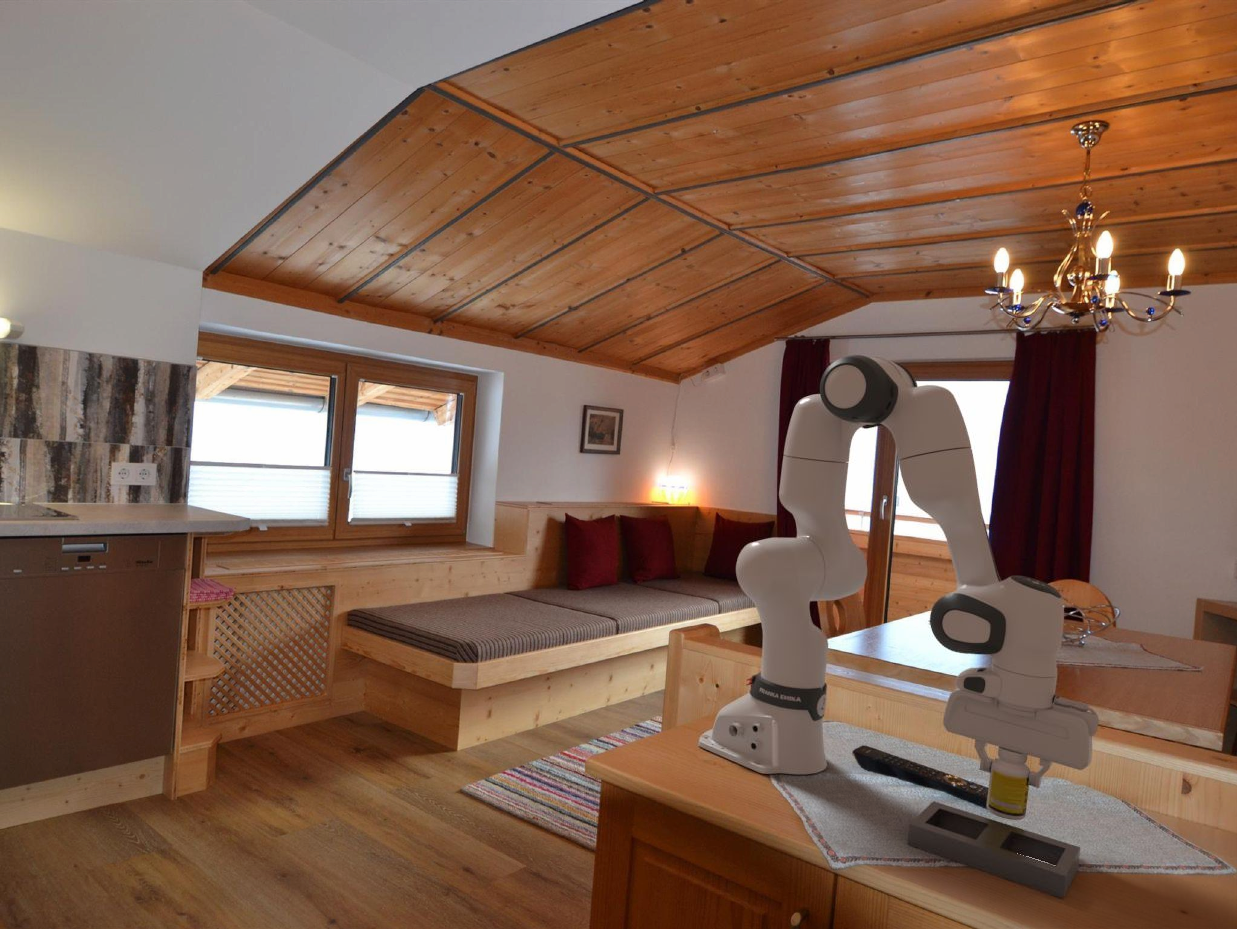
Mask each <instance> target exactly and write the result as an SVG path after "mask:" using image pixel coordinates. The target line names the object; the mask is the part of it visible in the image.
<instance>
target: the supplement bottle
mask: <svg viewBox="0 0 1237 929" xmlns="http://www.w3.org/2000/svg"><path fill="white" fill-rule="evenodd" d="M997 756H998V758H997V757H996V758H995V759H994V760H993V761H992V764H991V771H990V773H989V779H988V780H989V782H988V790H987V798H986V809H987V810H988V812H989V813H991V814H992V815H995V816H997V817H999V818H1002V819H1006V820H1012V821H1020V820H1023V819H1024V818H1025V817H1026V813H1027V805H1028V799H1029V798H1028V796H1029V788H1030V785H1028V781H1029V774H1030V773H1031V768H1030V767H1029V766H1028V765H1027V762H1028V756H1029V755H1026V754H1023V753H1019V752H1016V751H1013V750H1009V749H1006V748H1002V747H999V746H998V750H997Z"/></svg>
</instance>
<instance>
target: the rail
mask: <svg viewBox="0 0 1237 929" xmlns="http://www.w3.org/2000/svg"><path fill="white" fill-rule="evenodd" d="M907 836H908V838H907V846H910V847H914V848H917V849H920V850H922V851H925V852H927V853H930V852H931V853H930V854H933V853H934V855H937V856H939V857H942V856H943V857H942V858H945V859H947V858H948V860H950V859H951V861H954V862H957V863H959V864H962V865H965V866H968V867H970V868H974V869H977V870H979V871H982V872H985V873H987V874H990V875H994V876H996V877H998V878H999V877H1000V878H1002V879H1005V880H1008V881H1011V882H1013V883H1017V884H1019V885H1022V886H1025V887H1028V888H1030V889H1034V890H1037V891H1039V892H1042V893H1045V894H1047V895H1051V896H1054V897H1056V898H1059V899H1062V900H1064V899H1065V897H1066V895H1067V892H1068V890H1069V888H1070V886H1071V885H1072V882H1073V880H1074V878H1075V877H1076V873H1077V872H1078V870H1079V863H1080V855H1081V847H1080V846H1077V845H1073V844H1070V843H1067V842H1064V841H1061V840H1058V839H1055V838H1052V837H1048V836H1045V835H1042V834H1039V833H1035V832H1033V831H1029V830H1026V829H1022V828H1020V827H1017V826H1013V825H1010V824H1007V823H1005V822H1001V821H998V820H995V819H991V818H988V817H985V816H983V815H979V814H976V813H972V812H969V811H966V810H964V809H963V810H962V809H959V808H956V807H954V806H950V805H946V804H943V803H940V802H937V801H934V800H933V801H932V802H931V803H930V804H929V805H927V807H926V808H924V809H923V810H922V811H921V812H920V813H919V814H918V815H917V816H916V817H915V818H914V819H913V820H911V822H910V823H909V827H908V835H907ZM1017 853H1018V854H1017ZM1020 854H1021V855H1020ZM1023 855H1024V856H1023ZM1026 856H1029V857H1032V858H1035V859H1039V860H1041V861H1045V862H1048V863H1050V864H1053V865H1056V866H1053V865H1050V864H1047V863H1044V862H1041V861H1038V860H1035V859H1032V858H1029V857H1026Z"/></svg>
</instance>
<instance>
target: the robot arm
mask: <svg viewBox="0 0 1237 929" xmlns="http://www.w3.org/2000/svg"><path fill="white" fill-rule="evenodd" d="M881 426H884V427H885V428H887V429H888V430H889V432H890V433H891V435H892V438H893V440H894V444H895V450H896V454H897V460H898V465H899V466H898V467H899V470H900V475H901V479H902V481H903V485H904V487H905V490H906V492H907V495H908V497H909V499H910V501H911V502H912V503H913V504H914V505H915V506H916V507H917V508H919V509H920V510H922V511H923V512H924V513H926V514H928V515H929V517H931V518H932V519H933V520H934V521H935V522H936V523H937V524H938V526H939V527H940V529H941V530H942V532H943V534H944V536H945V538H946V542H947V545H948V550H949V555H950V558H951V562H952V565H953V568H954V574H955V577H956V590H953V591H951V592H948V593H947V594H945V595H942V597H940V598H938V599H937V601H936V602H935V603H934V605H933V606H932V608H931V611H930V615H929V624H930V630H931V631H932V634H933V636H934V638H935V639H936V641H937V642H938V643H939V644H940V645H942V646H943V648H945V649H947V650H949V651H951V652H954V653H959V654H964V655H969V654H970V655H985V656H986V655H989V656H991V657H992V658H991V659H992V660H991V666H985V667H983V666H982V667H970V668H967V669H965V670H963V671H961V672H960V673H959V674H958V675H957V677H956V679H955V680H956V681H955V682H956V684H955V685H956V688H955V689H954V690H953V691H952V692H951V693H950V695H949V697H948V699H947V702H946V706H945V710H944V713H943V714H944V715H943V720H942V724H943V726H944V728H945V730H946V732H948V733H951V734H956V735H958V736H962V737H965V738H969V739H971V740H974V741H975V742H974V749H975V751H976V753H977V755H978V757H979V759H980V763H979V764H980V765H979V771H982V772H986V773H989V774H990V771H991V764H992V761H993V760H994V759H993V758H991V757H989V756H988V754H987V751H986V747H987V746H988V744H989V745H993V746H995V747H996V746H997V747H998V748H999V747H1002V748H1006V749H1009V750H1013V751H1016V752H1019V753H1023V754H1026V755H1028V756H1030V757H1034V758H1037V759H1039V766H1040V767H1041V768H1040V769H1039V770H1038V771H1034V770H1030V774H1029V781H1028V785H1029V787H1034V788H1036V789H1039V788H1040V787H1041V784H1042V778H1043V776H1044V775H1045V774H1046V773H1047V772H1048V771H1049V769H1051V767H1052V766H1053V763H1055V764H1058V765H1061V766H1064V767H1067V768H1072V769H1074V770H1075V769H1076V770H1078V771H1082V770H1084V769H1086V768H1087V767H1089V766H1090V764H1091V762H1092V756H1093V737H1094V736H1095V734H1096V733H1097V732H1098V726H1099V721H1100V720H1099V715H1098V714H1097V712H1096V711H1095V710H1094V709H1093V708H1092V707H1089V705H1088V704H1087V703H1084V702H1080V701H1078V702H1077V701H1074V700H1071V699H1068V698H1065V697H1062V696H1056V695H1055V694H1056V687H1057V680H1058V667H1057V656H1058V654H1059V651H1060V649H1061V647H1062V641H1063V635H1064V634H1063V633H1064V623H1065V622H1064V620H1065V609H1064V608H1065V606H1064V605H1065V604H1064V599H1063V597H1062V595H1061V593H1060V592H1059V591H1058V590H1057V588H1055V587H1054V586H1052V585H1050V584H1048V583H1047V582H1044V581H1041V580H1040V579H1039V580H1038V579H1035V578H1032V577H1028V576H1024V575H1011V576H1009V577H1007V578H1005V579H1003V580H1002V578H1001V577H1000V575H999V571H998V569H997V565H996V561H995V556H994V554H993V550H992V546H991V545H992V544H991V542H990V539H989V534H988V530H987V527H986V524H985V523H986V522H985V519H984V516H983V512H982V505H981V498H980V494H979V492H980V491H979V488H978V486H979V485H978V479H977V478H978V477H977V471H976V464H975V458H974V454H973V449H972V445H971V439H970V436H969V432H968V429H967V425H966V423H965V419H964V416H963V414H962V411H961V409H960V406H959V404H958V402H957V399H956V397H955V395H954V394H953V393H952V391H950V390H949V389H947V388H945V387H943V386H940V385H939V386H938V385H935V384H934V385H933V384H931V385H930V384H927V385H926V384H925V385H919V386H918V384H917V380H916V379H915V377H914V375H913V374H912V373H911V371H910V370H909V369H908V368H906V367H905V366H903V365H901V364H900V363H896V362H893V361H890V360H888V359H885V358H883V357H878V356H870V357H869V356H865V355H861V354H859V355H858V354H854V355H848V356H843V357H841V358H839V359H836V360H835V361H834V362H832V363H831V364H830V365H829V366H828V367H826V369H825V371H824V372H823V374H822V376H821V379H820V383H819V393H817V394H811V395H808V396H804V397H802V398H801V399H799V400H798V402H797V403H796V404H795V405H794V408H793V411H792V414H791V418H790V421H789V425H788V429H787V432H786V433H787V434H786V437H785V442H784V449H783V456H782V458H783V459H782V464H781V474H780V481H779V482H780V483H779V489H778V490H779V492H778V496H779V497H778V498H779V501H780V503H781V505H782V506H783V507H784V508H785V509H786V510H787V511H788V512H789V513H791V514H792V516H793V518H794V520H795V525H796V537H768V538H764V539H760V540H756V541H753V542H749V543H747V544H746V545H744V547H743V548H742V549H741V550H740V552H739V554H738V557H737V561H736V564H735V574H736V578H737V582H738V585H739V587H740V589H741V590H742V592H743V593H744V594H745V595H746V596H747V597H748V598H749V599H750V600H751V601H752V603H753V604H754V605H755V608H756V611H757V612H758V615H759V618H760V623H761V628H762V647H761V648H762V649H761V650H762V652H761V666H760V667H761V668H760V670H759V671H758V673H757V674H753V675H751V677H750V678H747V679H746V681H747V682H746V683H745V686H750V689H749V692H747V693H746V694H744V695H742V696H740V697H738V698H736V699H735V700H733V701H731V702H730V703H728V704H726V705H725V706H724V707H722V708H721V709H720V710H719V711H718V713H717V715H716V716H715V719H714V723H713V727H712V728H711V729H709V730H707V731H705V732H703V733H702V734H701V735H700V737H699V740H698V746H699V747H700V748H702V749H704V750H707V751H710V752H711V753H714V754H716V755H718V756H720V757H723V758H725V759H726V760H727V759H728V760H730V761H732V762H734V763H736V764H738V765H741V766H743V767H745V768H748V769H751V770H753V771H755V772H757V773H760V774H767V775H771V774H789V775H810V774H818V773H820V772H822V771H824V770H825V769H826V768H827V767H828V762H827V759H826V752H825V744H824V743H825V742H824V727H823V726H824V725H823V722H824V721H823V719H824V717H825V713H826V709H827V708H826V707H827V697H828V696H827V690H828V688H827V687H828V685H827V683H826V673H827V665H828V664H827V662H828V652H829V651H828V650H829V642H828V638H827V635H825V633H824V632H823V630H821V629H820V628H819V627H818V626H816V625H815V624H814V623H813V620H812V617H811V610H810V603H811V602H819V601H821V602H823V601H824V602H825V601H835V600H841V599H844V598H846V597H850V596H852V595H855V594H856V593H858V592H859V591H861V589H862V588H863V587H864V585H865V583H866V580H867V576H868V564H867V560H866V558H865V555H864V553H863V551H862V550H861V549H860V548H859V546H857V544H856V542H854V540H853V538H852V536H851V533H850V530H849V527H848V523H847V516H846V493H847V492H846V491H847V490H846V489H847V481H848V480H847V479H848V472H849V461H850V454H851V453H850V452H851V445H852V441H853V438H854V436H855V434H856V432H858V430H859V429H861V428H862V429H871V428H876V427H881Z"/></svg>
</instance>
